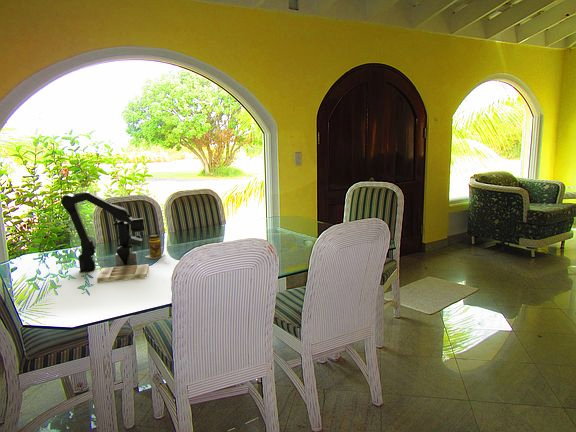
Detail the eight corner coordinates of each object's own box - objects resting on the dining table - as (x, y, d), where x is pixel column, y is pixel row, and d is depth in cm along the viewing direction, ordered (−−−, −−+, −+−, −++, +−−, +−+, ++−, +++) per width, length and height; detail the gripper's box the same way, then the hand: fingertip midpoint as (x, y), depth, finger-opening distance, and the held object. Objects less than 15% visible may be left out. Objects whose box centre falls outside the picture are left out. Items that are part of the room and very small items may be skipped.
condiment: (155, 259, 248) (153, 237, 245) (144, 257, 252) (142, 235, 249) (165, 255, 254) (163, 234, 251) (154, 253, 258) (152, 232, 255)
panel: (116, 268, 234) (115, 254, 233) (117, 266, 237) (116, 253, 235) (137, 266, 236) (136, 253, 235) (137, 264, 239) (136, 251, 237)
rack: (97, 282, 214) (97, 277, 214) (102, 271, 228) (102, 267, 228) (146, 277, 219) (146, 273, 218) (148, 267, 233) (148, 263, 233)
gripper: (139, 236, 226) (141, 266, 229) (142, 227, 243) (144, 255, 247) (115, 237, 223) (118, 268, 227) (119, 229, 241) (122, 257, 244)
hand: (126, 262), depth 236 cm, fingers open, 9 cm apart
